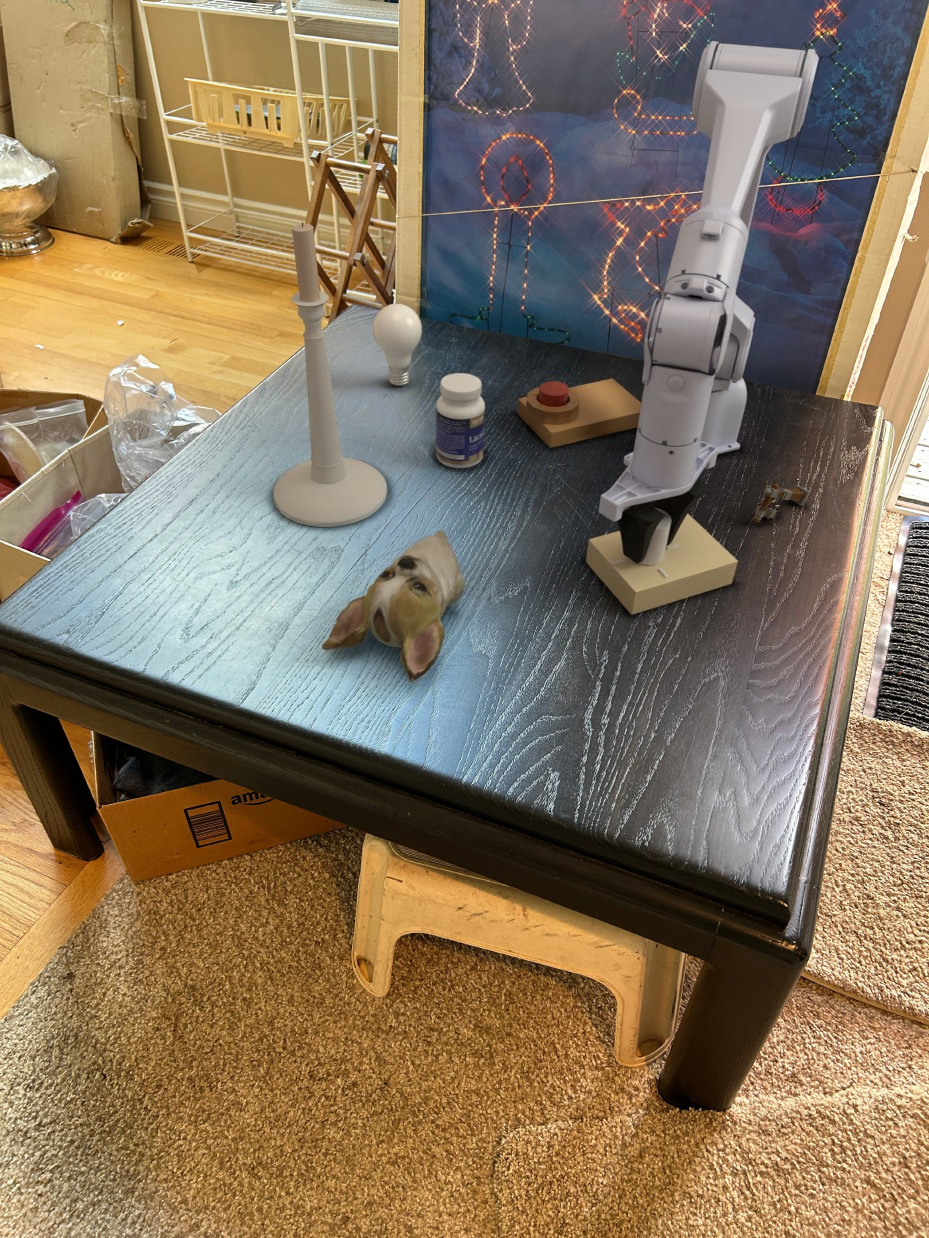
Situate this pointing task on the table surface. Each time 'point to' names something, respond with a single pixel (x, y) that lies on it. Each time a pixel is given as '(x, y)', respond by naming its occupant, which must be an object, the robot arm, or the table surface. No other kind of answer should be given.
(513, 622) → the table surface
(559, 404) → the stop button
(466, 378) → the pill bottle
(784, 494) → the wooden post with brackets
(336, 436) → the candlestick
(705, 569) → the rotary dial block
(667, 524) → the tap knob
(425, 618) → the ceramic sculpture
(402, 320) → the lightbulb
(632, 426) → the button block
